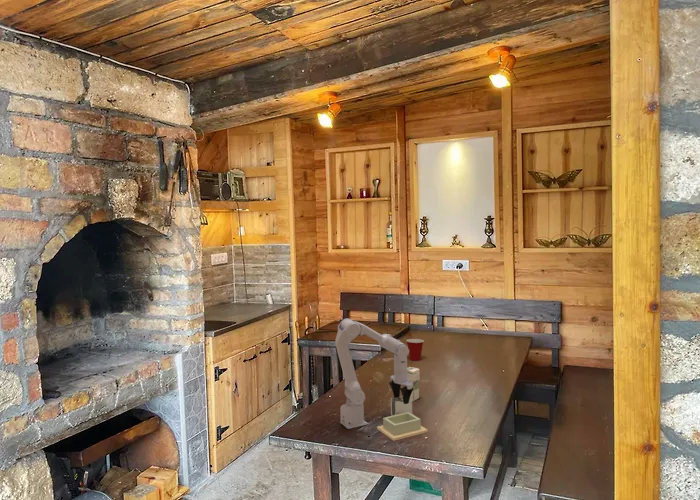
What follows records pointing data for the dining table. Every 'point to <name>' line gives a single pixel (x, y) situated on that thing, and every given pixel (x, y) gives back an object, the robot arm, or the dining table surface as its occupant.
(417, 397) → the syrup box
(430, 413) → the dining table surface
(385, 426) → the well
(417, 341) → the plastic cup
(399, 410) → the bracket
